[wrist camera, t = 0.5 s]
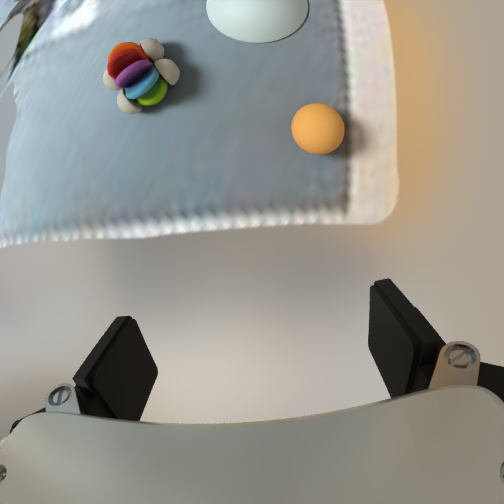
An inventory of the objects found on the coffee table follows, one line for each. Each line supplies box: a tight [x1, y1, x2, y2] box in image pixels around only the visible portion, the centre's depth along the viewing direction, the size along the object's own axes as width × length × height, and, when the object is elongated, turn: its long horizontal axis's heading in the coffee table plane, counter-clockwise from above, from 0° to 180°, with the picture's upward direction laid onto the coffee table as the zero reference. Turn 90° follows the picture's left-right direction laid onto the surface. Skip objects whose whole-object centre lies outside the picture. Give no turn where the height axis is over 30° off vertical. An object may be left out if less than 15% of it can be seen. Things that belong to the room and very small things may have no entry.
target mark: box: [206, 0, 308, 43], centre depth 26 cm, size 13×13×1 cm
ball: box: [291, 103, 345, 154], centre depth 29 cm, size 6×6×6 cm
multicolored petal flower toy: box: [103, 38, 180, 114], centre depth 26 cm, size 8×10×7 cm
